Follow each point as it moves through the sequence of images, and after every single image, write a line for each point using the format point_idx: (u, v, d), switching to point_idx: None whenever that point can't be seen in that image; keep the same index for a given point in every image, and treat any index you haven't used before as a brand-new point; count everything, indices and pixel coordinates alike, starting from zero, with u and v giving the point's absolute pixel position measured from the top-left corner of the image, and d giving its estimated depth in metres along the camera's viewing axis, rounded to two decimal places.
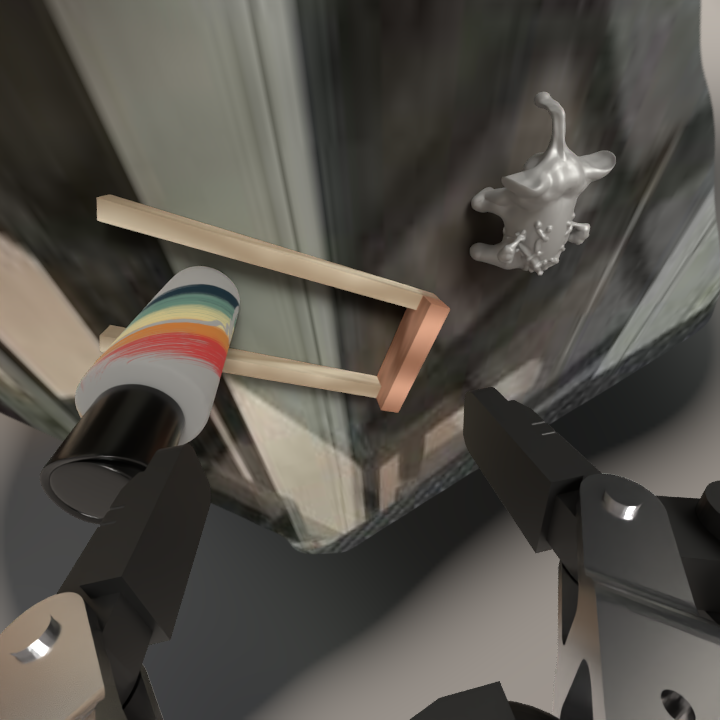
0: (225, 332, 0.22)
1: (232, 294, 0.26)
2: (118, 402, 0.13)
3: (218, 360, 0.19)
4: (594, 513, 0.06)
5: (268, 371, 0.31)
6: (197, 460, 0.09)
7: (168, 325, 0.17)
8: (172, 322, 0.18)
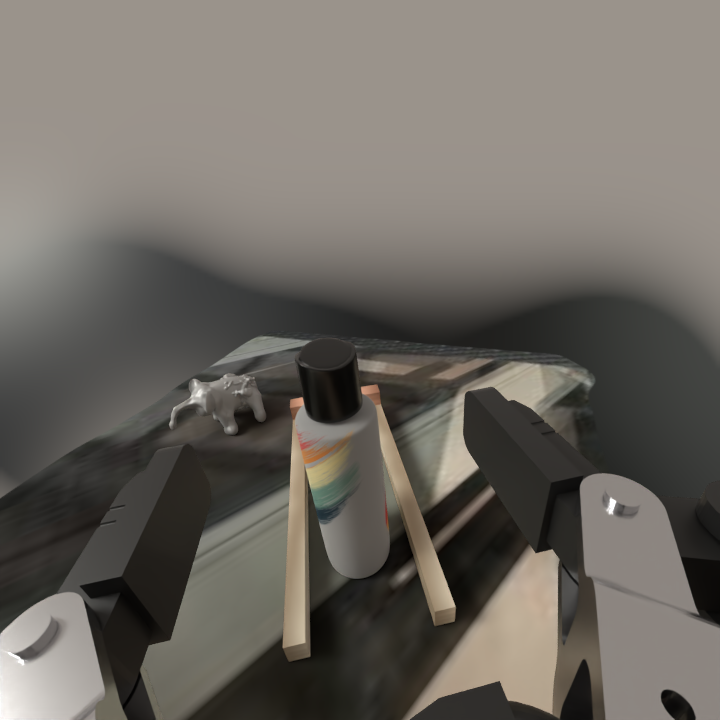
0: None
1: None
2: (303, 398, 0.21)
3: None
4: (594, 513, 0.06)
5: (394, 467, 0.35)
6: (197, 460, 0.09)
7: None
8: None
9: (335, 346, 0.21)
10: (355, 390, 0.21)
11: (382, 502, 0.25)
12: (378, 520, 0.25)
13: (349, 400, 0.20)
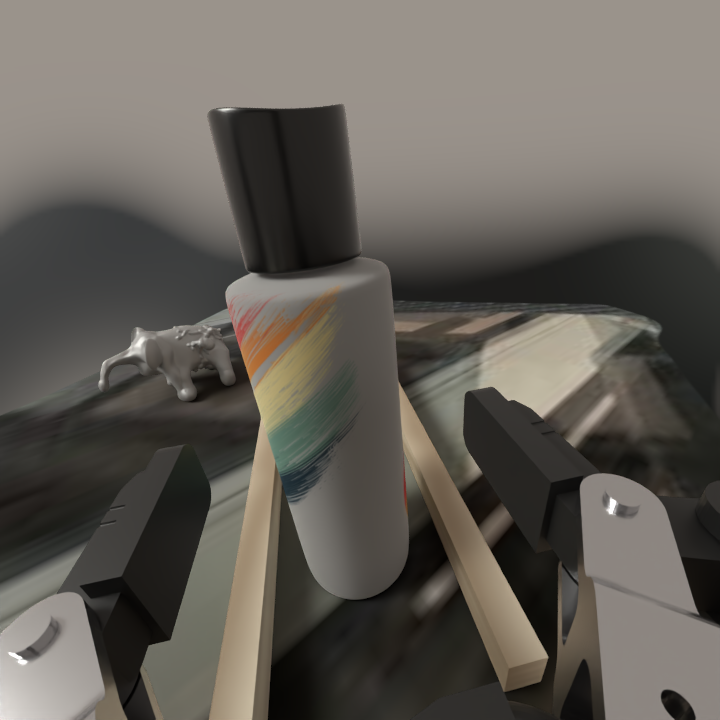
0: None
1: None
2: (235, 227, 0.10)
3: None
4: (594, 513, 0.06)
5: (410, 428, 0.23)
6: (197, 460, 0.09)
7: None
8: None
9: None
10: (345, 199, 0.09)
11: (399, 462, 0.14)
12: (392, 495, 0.14)
13: (333, 218, 0.09)
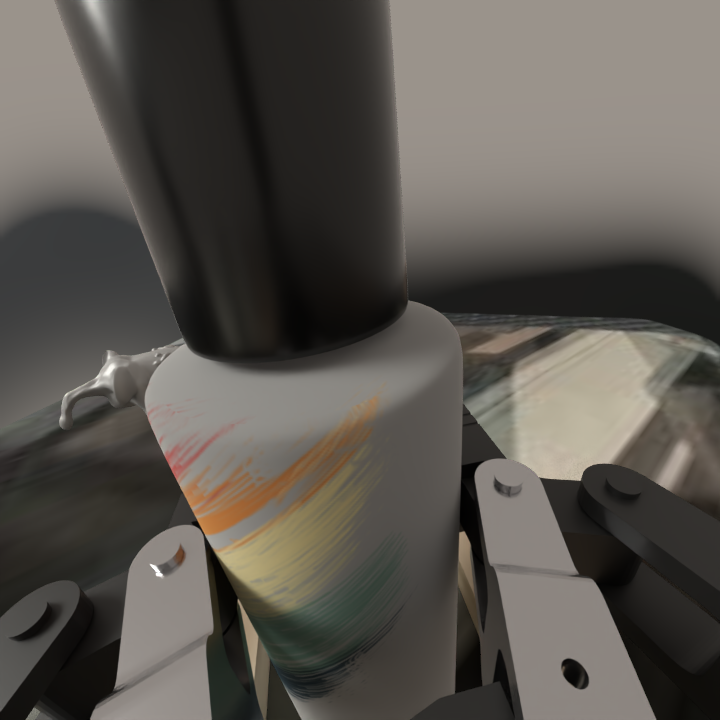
0: None
1: None
2: None
3: None
4: (489, 500, 0.06)
5: None
6: None
7: None
8: None
9: None
10: (387, 202, 0.04)
11: (455, 621, 0.09)
12: (445, 674, 0.09)
13: (361, 246, 0.04)
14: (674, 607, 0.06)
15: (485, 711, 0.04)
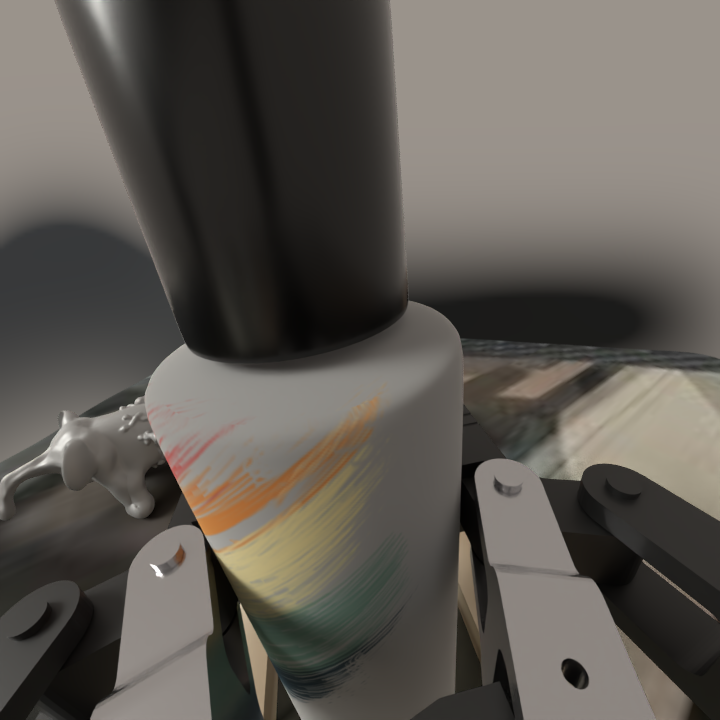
0: None
1: None
2: None
3: None
4: (489, 500, 0.06)
5: None
6: None
7: None
8: None
9: None
10: (388, 203, 0.04)
11: (455, 621, 0.09)
12: (445, 675, 0.09)
13: (362, 246, 0.04)
14: (674, 607, 0.06)
15: (485, 711, 0.04)
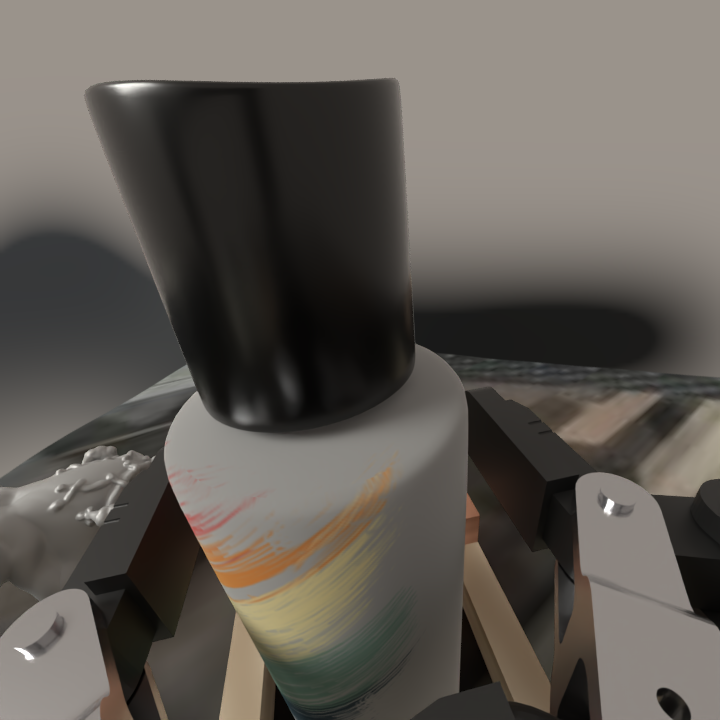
0: None
1: None
2: None
3: None
4: (590, 512, 0.06)
5: None
6: None
7: None
8: None
9: None
10: (398, 281, 0.05)
11: (459, 649, 0.09)
12: None
13: (375, 325, 0.04)
14: None
15: (485, 711, 0.04)
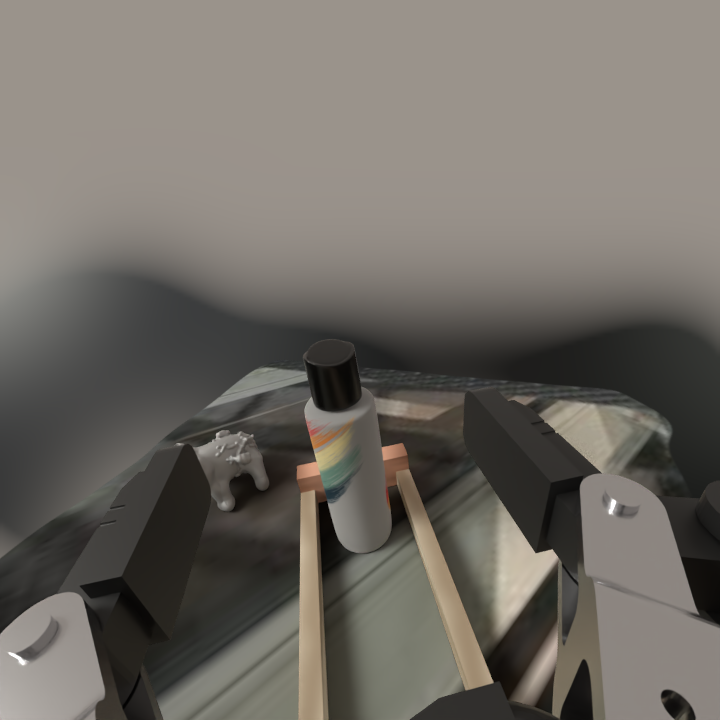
0: None
1: None
2: (311, 391, 0.25)
3: None
4: (594, 513, 0.06)
5: (439, 578, 0.26)
6: (197, 460, 0.09)
7: None
8: None
9: (337, 346, 0.24)
10: (355, 382, 0.24)
11: (382, 482, 0.28)
12: (380, 498, 0.28)
13: (350, 391, 0.24)
14: None
15: (485, 711, 0.04)
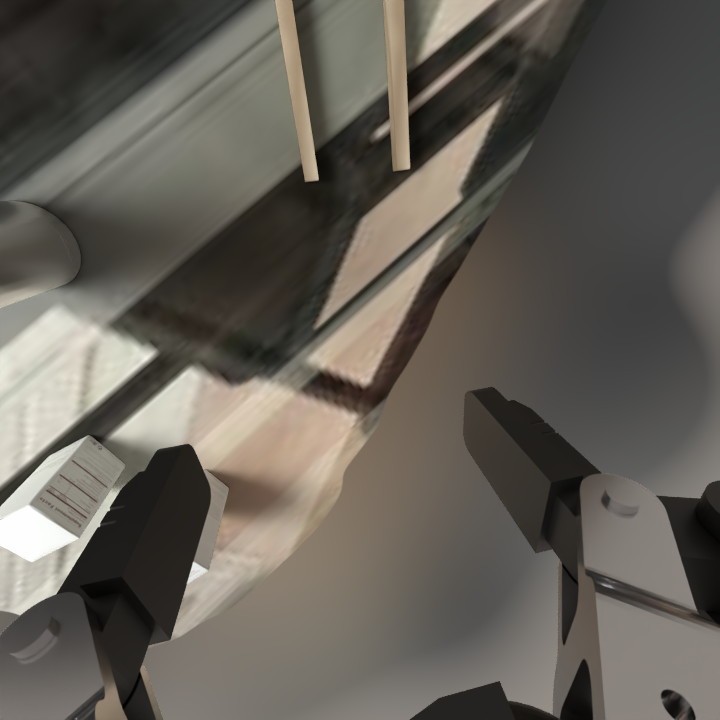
0: None
1: None
2: None
3: None
4: (594, 513, 0.06)
5: (394, 8, 0.31)
6: (197, 460, 0.09)
7: None
8: None
9: None
10: None
11: None
12: None
13: None
14: None
15: (485, 711, 0.04)
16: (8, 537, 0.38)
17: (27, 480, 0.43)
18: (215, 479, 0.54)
